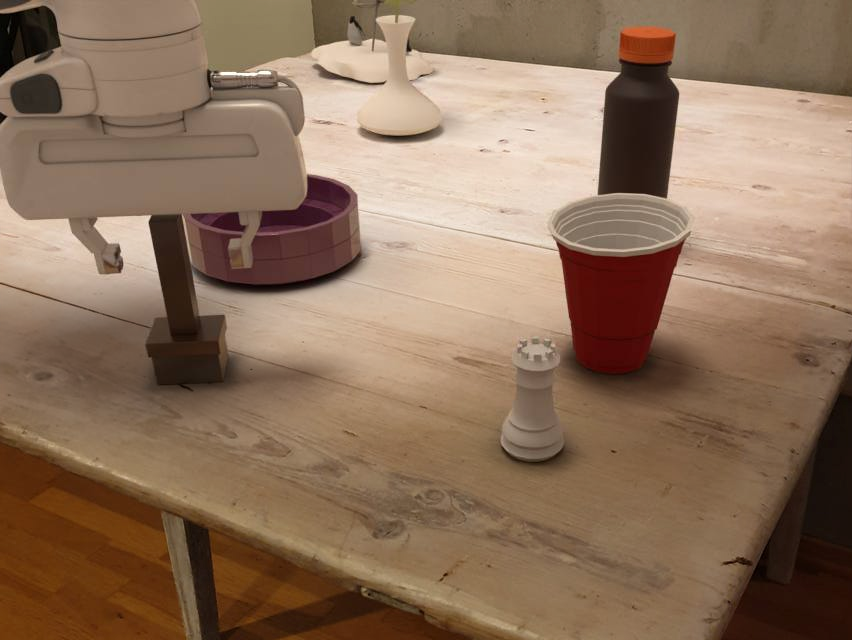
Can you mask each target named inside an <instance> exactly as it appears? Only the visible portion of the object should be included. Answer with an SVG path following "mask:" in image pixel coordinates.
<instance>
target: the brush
mask: <svg viewBox="0 0 852 640" xmlns="http://www.w3.org/2000/svg"><path fill="white" fill-rule="evenodd" d="M147 223H148V227H149V232H150V238H151V243H152V248H153V252H154V253H153V254H154V259H155V263H156V268H157V273H158V278H159V283H160V288H161V293H162V298H163V304H164V309H165V312H166V316H160V317H159V316H158V317H157V316H156V317H154V320H153V322H152V324H151V327H150V330H149V333H148V335H147V338H146V341H145V344H144V346H145V350H146V355H147V358H149V359H150V358H151V362H152V367H153V371H154V372H153V373H154V376H155V381H156V385H158V386H159V385H176V384H177V385H179V384H181V385H182V384H200V383H203V384H204V383H221V382H224V380H225V375H226V370H227V365H228V361H229V351H228V345H227V344H228V343H227V338H226V334H227V329H228V326H227V319H226V315H225V314H211V315H210V314H207V315H206V314H205V315H200V309H199V305H198V298H197V292H196V285H195V281H194V276H193V270H192V263H191V261H190V258H189V252H188V247H187V241H186V235H185V230H184V224H183V218H182V214H173V215H150V217H149V219H148V221H147Z"/></svg>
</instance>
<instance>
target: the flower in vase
mask: <svg viewBox="0 0 852 640" xmlns="http://www.w3.org/2000/svg"><path fill="white" fill-rule="evenodd" d="M384 1H385V2H384V3H383V4H384V5H385V6H386V5H387V6H389V7H390V6H391V7H394V8H395V14H390V15H389V14H388V15H382V16H377V18H376V24H377V25H378V26H379V27H380V29H381V32H382V33H383V36H384V40H385V42H386V44H387V50H388V59H389V74H388V78H387V80H386V81H385V82H384V84H383V85H382V86H381V87H380V89H378V91H376V92H375V93H374V94H373V95H372V96H371V97H370V98H368V99H367V100H366V101H365V102H364V103H363V104H362V106H361V107H360V108H359V109H358V112H357V115H356V118H355V119H356V121H357V123H358V124H359V126H360V127H361V128H362V129H364V130H367V131H369V132H371V133H374V134H379V135H385V136H395V137H396V136H412V135H419V134H422V133H426V132H429V131H431V130H434V129H435V128H437V127H438V126H440V124H441V122H442V121H443V118H444V117H443V113H442V111H441V109H440V107H438V105H436V104H435V102H434V101H432V99H430V98H429V97H428V96H426V94H424V93H423V92H422V91H421V90H419V89H418V88H417V87H416V86H415V85H413V83H412V81H411V80H409V78H408V75H407V70H406V47H407V40H408V39H409V34H410V31H411V29H412V27H413V25H414V24H415V22H416V20H417V19H416V17H414V16H410V15H403V14H402V15H401V14H399V10H400V6H401V5H402V4H403V3H404V1H405V0H384ZM406 1H407V2H408V3H409V4H414V3H416V1H417V0H406Z"/></svg>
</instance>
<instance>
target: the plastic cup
mask: <svg viewBox="0 0 852 640" xmlns="http://www.w3.org/2000/svg"><path fill="white" fill-rule="evenodd" d="M694 222H695V217H694V216H693V214H692V212H691V211H690V210H689V209H688V208H687V207H686V206H684V205H682V204H680V203H678V202H676V201H674V200H672V199H670V198H667V199H666V198H661V197H656V196H652V195H647V194H629V193H614V194H605V195H598V194H596V195H590V196H586V197H583V198H580V199H577V200H573V201H570V202H567V203H566V204H564V205H562V206H561V207H559V208H557V209H555V210H554V211H553V212H552V213H551V215H550V217H549V219H548V221H547V223H546V225H547V228H548V230H549V232H550V235H551V237H552V239H553V241H554V242H555V243H556V244H555V245H556V247H557V249H558V254H559V255H558V256H559V258H560V260H561V267H562V274H563V282H564V291H565V298H566V299H565V300H566V304H567V312H568V319H569V321H570V328H571V329H570V330H571V338H572V348H573V351H574V354H575V358H576V360H577V363H579V364H580V365H582V366H583V367H584V368H586V369H588V370H591V371H593V372H597V373H602V374H609V375H615V374H616V375H617V374H627V373H630V372H631V373H632V372H633V371H634V372H635V371H637V370H639V369H640V368H641V367H642V366H644V364H645V361H646V359H647V358H648V356H649V352H650V350H651V346H652V342H653V338H654V335H655V333H656V331H657V330H658V327H659V322H660V319H661V316H662V313H663V309H664V305H665V302H666V299H667V296H668V292H669V289H670V285H671V281H672V278H673V274H674V272H675V268H677V265H678V261H679V257H680V255H681V253H682V249H683V245H685V241H686V240H687V238H688V237H690V236H691V234H692V230H693V226H694Z"/></svg>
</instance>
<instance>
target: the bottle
mask: <svg viewBox="0 0 852 640" xmlns="http://www.w3.org/2000/svg"><path fill="white" fill-rule="evenodd" d="M619 33H620V34H619V35H620V36H619V44H618V45H619V46H618V57H619V59H618V63H619V64H620V73H619V74H618V75H616V77H615V78H613V80H612V81H611V82H610V83H609V84H608V85H606V88H605V92H604V105H603V116H602V117H603V119H602V131H601V142H600V143H601V146H600V157H599V171H598V172H599V173H598V183H597V195H605V194H614V193H629V194H647V195H652V196H656V197H661V198H666V199H668V196H669V195H668V193H669V187H670V186H669V185H670V177H671V168H672V161H673V152H674V143H675V136H676V127H677V119H678V111H679V101H680V91H679V89H678V87H677V85H676V84H675V82H674V81H673V80H672V79H671V77H670V76H669V67H670V66H672V64H673V61H672V60H673V59H674V55H675V44H676V36H677V33H676V32H675V31H674V30H671V29H669V28H665V27H659V26H631V27H630V26H629V27H626V28H623V29H621V31H620V32H619Z"/></svg>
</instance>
